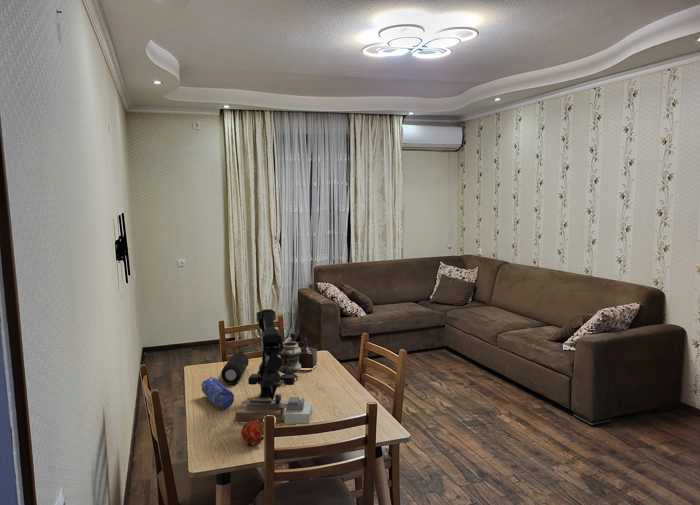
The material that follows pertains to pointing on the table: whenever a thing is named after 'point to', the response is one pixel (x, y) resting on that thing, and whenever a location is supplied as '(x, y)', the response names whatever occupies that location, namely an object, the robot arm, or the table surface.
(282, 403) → the lock bolt
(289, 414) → the block
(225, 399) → the pencil case
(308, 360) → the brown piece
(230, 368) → the portable speaker
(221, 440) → the table surface
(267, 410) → the door board
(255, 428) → the dragon fruit
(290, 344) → the apothecary jar
